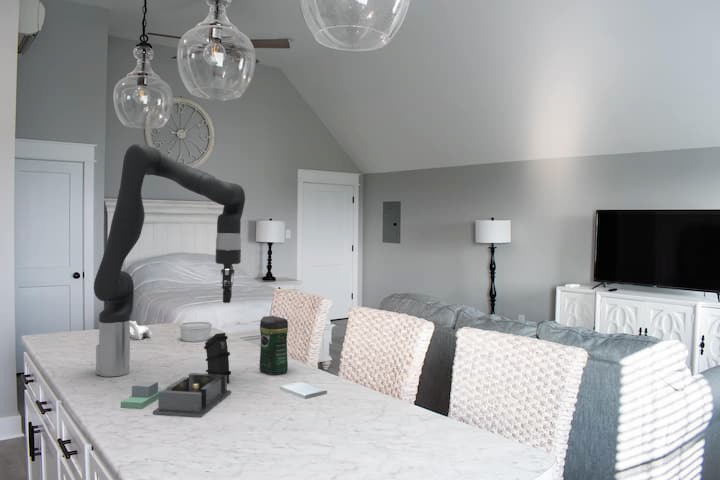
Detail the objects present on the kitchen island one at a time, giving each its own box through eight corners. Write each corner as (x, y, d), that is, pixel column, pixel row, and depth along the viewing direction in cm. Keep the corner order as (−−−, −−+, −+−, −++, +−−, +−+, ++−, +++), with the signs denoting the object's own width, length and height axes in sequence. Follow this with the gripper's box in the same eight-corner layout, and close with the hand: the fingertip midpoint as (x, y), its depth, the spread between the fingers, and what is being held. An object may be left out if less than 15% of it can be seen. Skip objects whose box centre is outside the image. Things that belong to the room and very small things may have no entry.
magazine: (223, 381, 167) (215, 333, 172) (208, 390, 177) (201, 345, 182) (234, 379, 170) (226, 332, 175) (219, 388, 179) (212, 343, 184)
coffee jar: (291, 372, 185) (292, 317, 185) (271, 376, 180) (272, 319, 180) (275, 367, 192) (275, 313, 192) (255, 370, 187) (256, 315, 187)
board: (141, 410, 147) (142, 391, 147) (120, 409, 148) (120, 390, 148) (167, 394, 161) (167, 377, 161) (147, 393, 162) (147, 376, 161)
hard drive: (327, 390, 163) (301, 380, 172) (304, 395, 157) (279, 385, 166) (327, 395, 163) (301, 386, 172) (304, 401, 157) (279, 390, 166)
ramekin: (187, 336, 245) (188, 320, 245) (216, 337, 243) (216, 321, 243) (173, 342, 232) (173, 325, 232) (203, 343, 230) (204, 326, 230)
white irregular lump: (127, 340, 243) (118, 319, 239) (140, 332, 247) (130, 312, 243) (142, 344, 235) (132, 322, 231) (155, 336, 240) (145, 315, 236)
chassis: (200, 417, 141) (201, 395, 141) (152, 414, 143) (152, 392, 143) (231, 393, 162) (231, 374, 162) (189, 390, 163) (189, 372, 163)
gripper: (217, 246, 176) (216, 297, 177) (214, 248, 163) (213, 304, 163) (241, 247, 178) (240, 297, 178) (240, 249, 164) (239, 304, 164)
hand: (227, 300), depth 171 cm, fingers open, 8 cm apart
